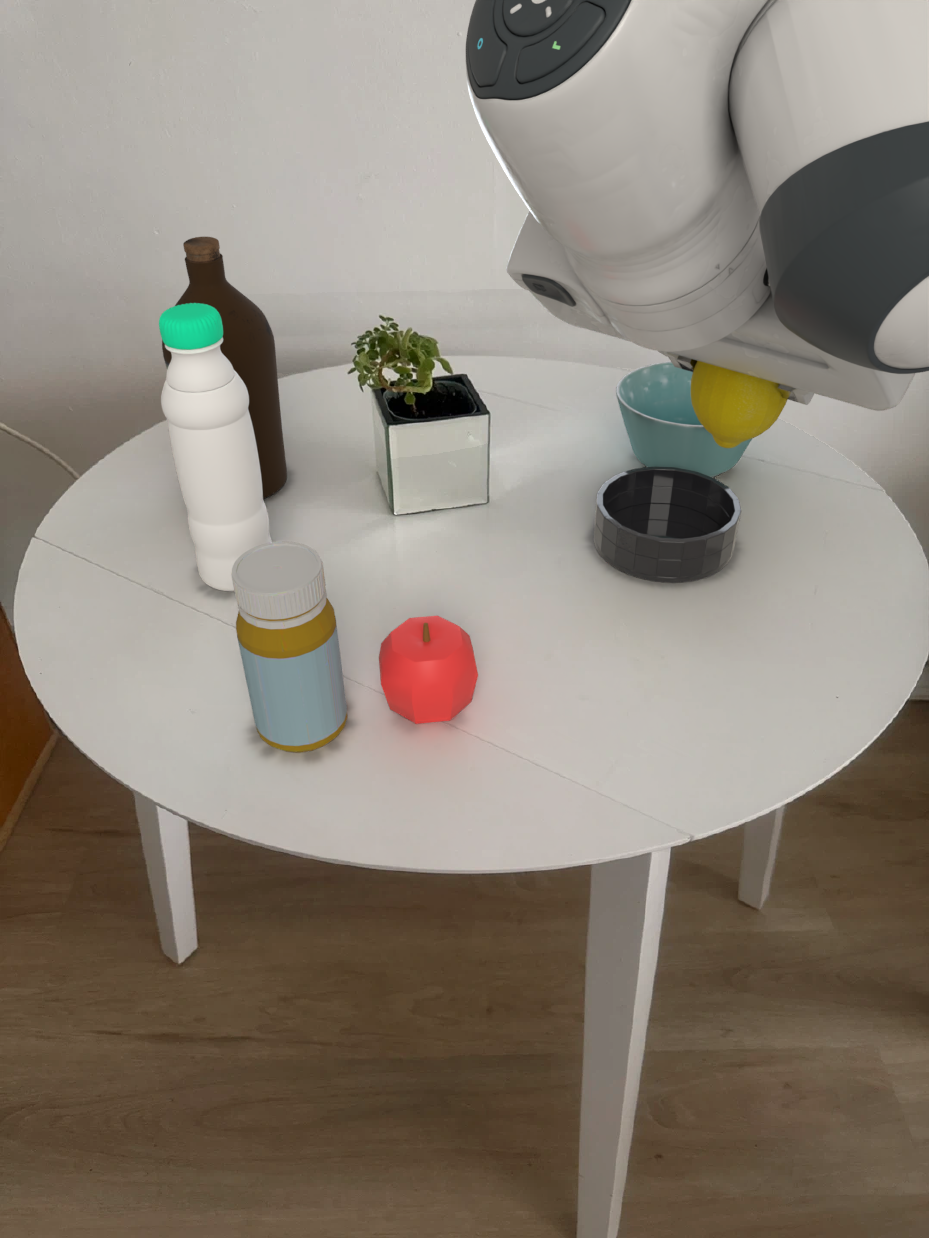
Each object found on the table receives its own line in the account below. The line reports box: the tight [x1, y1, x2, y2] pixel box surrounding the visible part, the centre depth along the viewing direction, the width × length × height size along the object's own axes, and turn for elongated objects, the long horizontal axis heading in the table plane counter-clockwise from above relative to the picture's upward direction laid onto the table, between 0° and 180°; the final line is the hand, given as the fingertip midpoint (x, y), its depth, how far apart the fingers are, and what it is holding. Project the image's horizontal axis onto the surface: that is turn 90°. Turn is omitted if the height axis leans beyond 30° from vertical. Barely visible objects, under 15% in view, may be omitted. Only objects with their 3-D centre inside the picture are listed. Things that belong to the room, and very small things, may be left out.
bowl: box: [615, 361, 753, 478], centre depth 105 cm, size 16×16×8 cm
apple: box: [378, 615, 479, 725], centre depth 76 cm, size 8×8×8 cm
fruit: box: [691, 361, 788, 448], centre depth 57 cm, size 6×6×8 cm
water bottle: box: [158, 303, 273, 592], centre depth 85 cm, size 7×7×25 cm
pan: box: [593, 466, 742, 584], centre depth 94 cm, size 13×13×4 cm
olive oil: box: [161, 236, 288, 500], centre depth 98 cm, size 11×11×25 cm
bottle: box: [231, 540, 348, 754], centre depth 72 cm, size 7×7×15 cm
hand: (745, 374), depth 58 cm, fingers closed on fruit, 5 cm apart
